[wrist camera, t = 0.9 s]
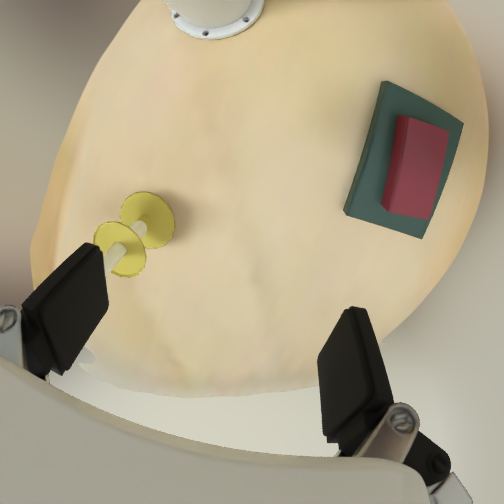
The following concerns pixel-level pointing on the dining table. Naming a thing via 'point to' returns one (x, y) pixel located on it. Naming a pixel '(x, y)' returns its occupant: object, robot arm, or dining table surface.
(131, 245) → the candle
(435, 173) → the burgundy book
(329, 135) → the dining table surface
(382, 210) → the green book
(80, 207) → the dining table surface
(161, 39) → the dining table surface
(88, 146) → the dining table surface
